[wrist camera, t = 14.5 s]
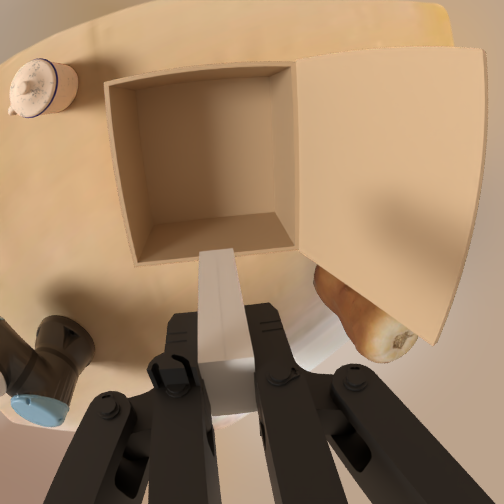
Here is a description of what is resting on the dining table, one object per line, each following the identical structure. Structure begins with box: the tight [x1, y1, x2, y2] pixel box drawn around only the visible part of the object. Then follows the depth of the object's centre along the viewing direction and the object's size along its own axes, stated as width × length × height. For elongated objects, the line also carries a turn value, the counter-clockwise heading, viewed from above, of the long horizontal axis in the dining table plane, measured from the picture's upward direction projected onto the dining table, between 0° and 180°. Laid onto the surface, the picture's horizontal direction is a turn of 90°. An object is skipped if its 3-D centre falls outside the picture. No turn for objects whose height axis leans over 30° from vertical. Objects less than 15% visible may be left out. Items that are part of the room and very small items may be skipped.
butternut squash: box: [313, 264, 418, 363], centre depth 48 cm, size 14×13×25 cm
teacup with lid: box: [8, 59, 78, 118], centre depth 32 cm, size 12×9×12 cm
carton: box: [104, 61, 300, 267], centre depth 40 cm, size 24×22×14 cm
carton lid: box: [296, 46, 488, 346], centre depth 26 cm, size 25×22×1 cm
